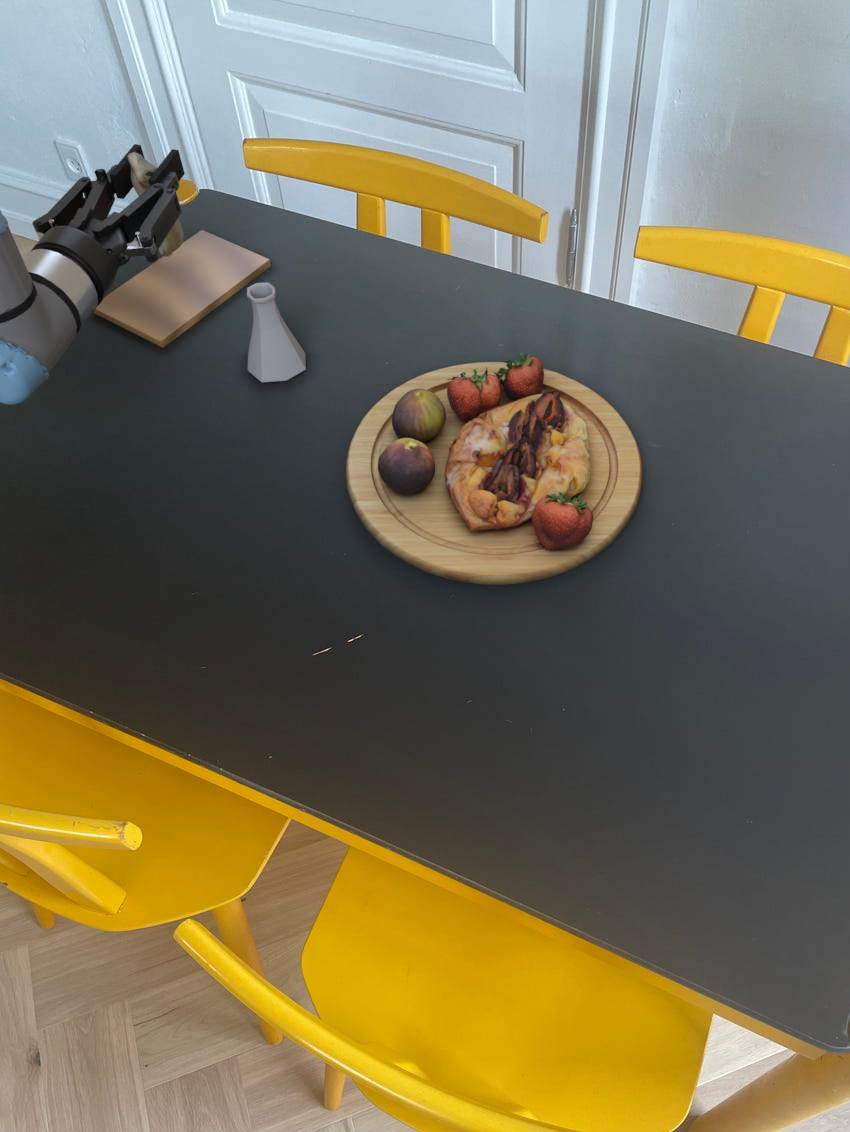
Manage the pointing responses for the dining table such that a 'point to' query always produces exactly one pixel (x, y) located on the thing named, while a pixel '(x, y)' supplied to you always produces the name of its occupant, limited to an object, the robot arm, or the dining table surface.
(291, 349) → the flask
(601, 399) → the wooden plate
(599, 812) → the dining table surface
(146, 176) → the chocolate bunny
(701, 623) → the dining table surface
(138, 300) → the wooden board
